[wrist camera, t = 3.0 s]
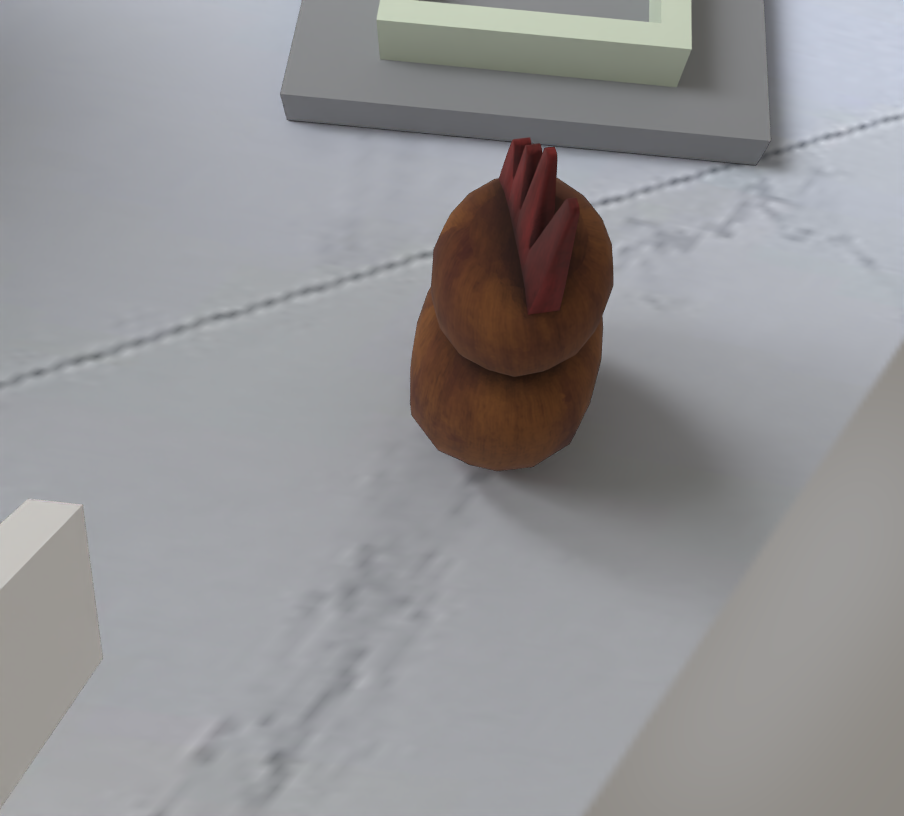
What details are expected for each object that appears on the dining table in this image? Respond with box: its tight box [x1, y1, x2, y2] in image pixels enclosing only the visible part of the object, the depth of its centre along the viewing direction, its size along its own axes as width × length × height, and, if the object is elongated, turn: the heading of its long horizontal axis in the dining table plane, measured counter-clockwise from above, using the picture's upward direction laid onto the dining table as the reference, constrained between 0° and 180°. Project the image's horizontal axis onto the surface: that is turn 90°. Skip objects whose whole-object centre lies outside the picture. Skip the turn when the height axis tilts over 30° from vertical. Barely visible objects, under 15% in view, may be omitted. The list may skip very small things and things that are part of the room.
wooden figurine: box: [410, 137, 613, 471], centre depth 21 cm, size 7×6×15 cm
